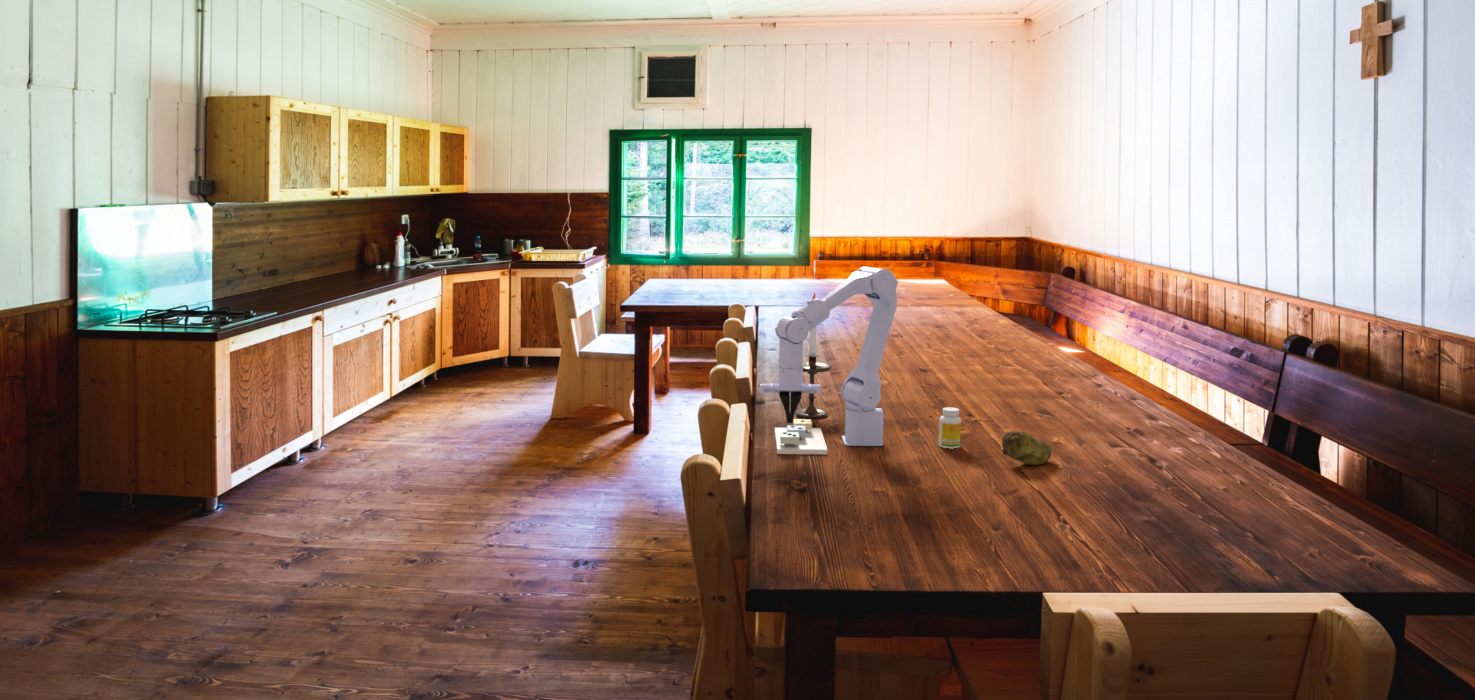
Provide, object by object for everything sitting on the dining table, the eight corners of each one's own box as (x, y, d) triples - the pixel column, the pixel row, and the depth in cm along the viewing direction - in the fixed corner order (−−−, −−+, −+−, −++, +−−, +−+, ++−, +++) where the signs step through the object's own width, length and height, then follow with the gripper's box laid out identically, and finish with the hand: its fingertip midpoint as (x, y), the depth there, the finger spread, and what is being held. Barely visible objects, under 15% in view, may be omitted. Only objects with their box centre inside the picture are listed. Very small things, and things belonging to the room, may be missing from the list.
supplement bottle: (933, 444, 223) (935, 407, 221) (952, 442, 225) (954, 405, 223) (945, 450, 218) (947, 412, 216) (964, 448, 220) (966, 410, 218)
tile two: (804, 432, 225) (804, 424, 225) (805, 436, 221) (805, 429, 220) (786, 431, 225) (786, 424, 225) (787, 436, 221) (787, 429, 220)
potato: (1061, 468, 204) (1063, 434, 203) (1007, 469, 203) (1009, 435, 202) (1045, 458, 212) (1047, 425, 211) (993, 459, 211) (995, 426, 210)
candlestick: (832, 419, 247) (835, 294, 241) (793, 419, 247) (795, 294, 241) (828, 410, 258) (831, 290, 252) (791, 410, 258) (793, 289, 252)
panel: (820, 432, 234) (820, 424, 233) (827, 454, 214) (827, 445, 213) (774, 432, 234) (774, 423, 233) (777, 453, 214) (777, 444, 214)
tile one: (810, 425, 231) (810, 418, 231) (811, 430, 227) (812, 422, 227) (793, 425, 231) (793, 418, 231) (794, 429, 227) (794, 422, 227)
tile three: (798, 438, 219) (798, 431, 218) (799, 443, 214) (799, 436, 214) (779, 438, 219) (780, 431, 218) (780, 443, 214) (780, 436, 214)
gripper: (819, 364, 217) (818, 418, 220) (760, 363, 217) (759, 417, 220) (822, 369, 210) (820, 425, 213) (760, 369, 210) (759, 424, 213)
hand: (789, 422), depth 216 cm, fingers closed
